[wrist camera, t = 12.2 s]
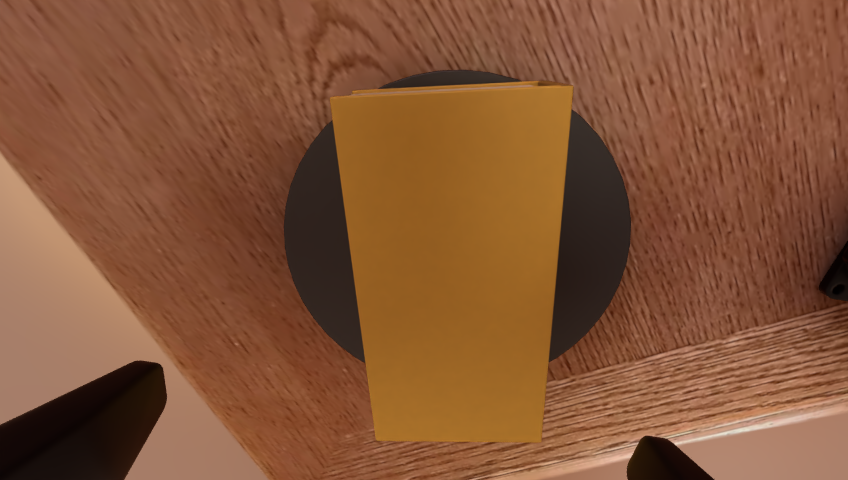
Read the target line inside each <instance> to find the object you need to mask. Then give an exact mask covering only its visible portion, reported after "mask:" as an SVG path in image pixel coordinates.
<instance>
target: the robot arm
mask: <svg viewBox="0 0 848 480" xmlns="http://www.w3.org/2000/svg"><path fill="white" fill-rule="evenodd" d="M836 285H837V286H836ZM835 286H836V287H835ZM834 287H835V288H834ZM819 290H820V292H821V293H823V294H824V295H826V296H828V297H830V298H832V299H838V300H844V301H848V241H847V242H846V244H845V246H844V247H843V249H842V250H841V252H840V253H839V255H838V256H837V258H836V259H835V261H834V263H833V264H832V266H831V267H830V269H829V270H828V272H827V273H826V275H825V276H824V278H823V280H822V281H821V283H820V285H819ZM166 401H167V393H166V386H165V379H164V373H163V368H162V366H161V365H160V364H158V363H154V362H147V361H134V362H132V363H129V364H127V365H126V366H123V367H121V368H119V369H117V370H115V371H113V372H110V373H108V374H107V375H104V376H102V377H100V378H98V379H96V380H94V381H91V382H90V383H87V384H85V385H83V386H81V387H79V388H77V389H75V390H73V391H71V392H68V393H67V394H64V395H62V396H60V397H58V398H56V399H54V400H52V401H49V402H47V403H45V404H43V405H41V406H39V407H37V408H35V409H33V410H30V411H28V412H26V413H24V414H22V415H20V416H18V417H16V418H14V419H12V420H9V421H7V422H5V423H3V424H1V425H0V480H124V479H125V477H126V476H127V474H128V472H129V470H130V468H131V467H132V465H133V463H134V461H135V459H136V458H137V456H138V454H139V452H140V451H141V449H142V447H143V445H144V444H145V442H146V440H147V438H148V437H149V435H150V433H151V431H152V429H153V428H154V426H155V424H156V422H157V421H158V419H159V417H160V415H161V414H162V412H163V410H164V408H165V405H166ZM627 478H628V480H714V479H713V478H712V477H711V476H710V475H709V474H707V473H706V472H705V471H704V470H703V469H702V468H700V467H699V466H698V465H697V464H696V463H695V462H694V461H693V460H691V459H690V458H689V457H688V456H687V455H686V454H684V453H683V452H682V451H681V450H680V449H679V448H678V447H677V446H676V445H674V444H673V443H672V442H671V441H669V440H668V439H665V438H660V437H653V436H644V437H643V438H641V440H640V441H639V443H638V445H637V447H636V449H635V451H634V453H633V455H632V457H631V459H630V461H629V463H628V466H627Z"/></svg>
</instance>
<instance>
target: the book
mask: <svg viewBox="0 0 848 480" xmlns="http://www.w3.org/2000/svg"><path fill="white" fill-rule="evenodd" d="M573 88H574V87H573V85H568V84H563V83H557V82H551V81H527V82H507V83H487V84H468V85H448V86H428V87H409V88H389V89H369V90H354V91H352V94H351V95H348V96H334V97H331V98H330V105H331V112H332V120H333V127H334V134H335V142H336V149H337V156H338V164H339V171H340V179H341V186H342V193H343V201H344V208H345V215H346V223H347V230H348V238H349V245H350V252H351V260H352V267H353V274H354V282H355V289H356V296H357V304H358V311H359V319H360V326H361V333H362V341H363V348H364V355H365V363H366V370H367V378H368V385H369V392H370V400H371V407H372V414H373V422H374V429H375V437H376V441H437V442H534V443H540V442H541V439H542V428H543V417H544V406H545V395H546V384H547V373H548V362H549V351H550V340H551V329H552V318H553V307H554V297H555V286H556V275H557V264H558V253H559V242H560V231H561V220H562V209H563V198H564V187H565V176H566V165H567V154H568V143H569V132H570V121H571V110H572V99H573Z"/></svg>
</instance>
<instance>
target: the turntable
mask: <svg viewBox="0 0 848 480" xmlns="http://www.w3.org/2000/svg"><path fill="white" fill-rule="evenodd" d="M507 82H522V81H520V80H518V79H514V78H510V77H506V76H502V75H498V74H494V73H490V72H481V71H472V70H442V71H434V72H428V73H423V74H417V75H413V76H410V77H407V78H404V79H401V80H398V81H395V82H392V83H389V84H386V85H384V86H382V87H380V88H378V89H389V88H409V87H428V86H448V85H468V84H487V83H507ZM630 232H631V218H630V210H629V201H628V197H627V193H626V189H625V186H624V182H623V179H622V176H621V174H620V172H619V169H618V167H617V165H616V163H615V161H614V158H613V156H612V155H611V153H610V152H609V150H608V149H607V147H606V146H605V144H604V143H603V141H602V140H601V138H600V137H599V135H598V134H597V133H596V132H595V131H594V130H593V129H592V128H591V127H590V125H589V124H588V123H587V122H586V121H585V120H584V119H583V118H582V117H581V116H580V115H578V114H577V113H576V112H575V111H573V110H571V121H570V132H569V143H568V154H567V165H566V176H565V187H564V198H563V209H562V220H561V231H560V242H559V253H558V264H557V275H556V286H555V297H554V307H553V318H552V329H551V340H550V351H549V362H550V361H552V360H554V359H556V358H557V357H558V356H560V355H561V354H563V353H564V352H565V351H567V350H568V349H570V348H571V347H572V346H573V345H574V344H576V343H577V342H578V341H579V340H580V339H581V338H582V337H583V336H584V335H586V334H587V332H588V331H589V330H590V329H591V328H592V327H593V326H594V324H595V323H596V322H597V321H598V320H599V319H600V317H601V316H602V314H603V313H604V311H605V310H606V308H607V307H608V305H609V304H610V302H611V300H612V298H613V296H614V294H615V292H616V290H617V288H618V286H619V284H620V281H621V278H622V275H623V272H624V269H625V266H626V263H627V258H628V252H629V247H630ZM284 238H285V250H286V255H287V260H288V266H289V269H290V272H291V275H292V278H293V281H294V284H295V286H296V288H297V290H298V292H299V295H300V297H301V299H302V301H303V303H304V304H305V306H306V307H307V309H308V310H309V312H310V313H311V315H312V316H313V318H314V319H315V320H316V322H317V323H318V324H319V325H320V326H321V327H322V329H323V330H324V331H325V332H326V333H327V334H328V335H329V336H330V337H331V338H332V339H333V340H334V341H335V342H336V343H337V344H339V345H340V346H341V347H342V348H344V349H345V350H346V351H348V352H349V353H350V354H352V355H353V356H354V357H356V358H358V359H359V360H361V361H363V362H364V363H365V355H364V348H363V341H362V333H361V326H360V319H359V311H358V304H357V296H356V289H355V282H354V274H353V267H352V260H351V252H350V245H349V238H348V230H347V223H346V215H345V208H344V201H343V193H342V186H341V179H340V171H339V164H338V156H337V149H336V142H335V134H334V127H333V120H332V121H331V122H330V123H329V124H327V125H326V126H325V127H324V129H323V130H322V131H321V132H320V134H319V135H318V136H317V137H316V139H315V140H314V141H313V142H312V144H311V145H310V147H309V148H308V150H307V152H306V154H305V155H304V157H303V159H302V160H301V162H300V164H299V166H298V168H297V171H296V173H295V176H294V178H293V181H292V183H291V186H290V190H289V195H288V199H287V203H286V209H285V220H284Z"/></svg>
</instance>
